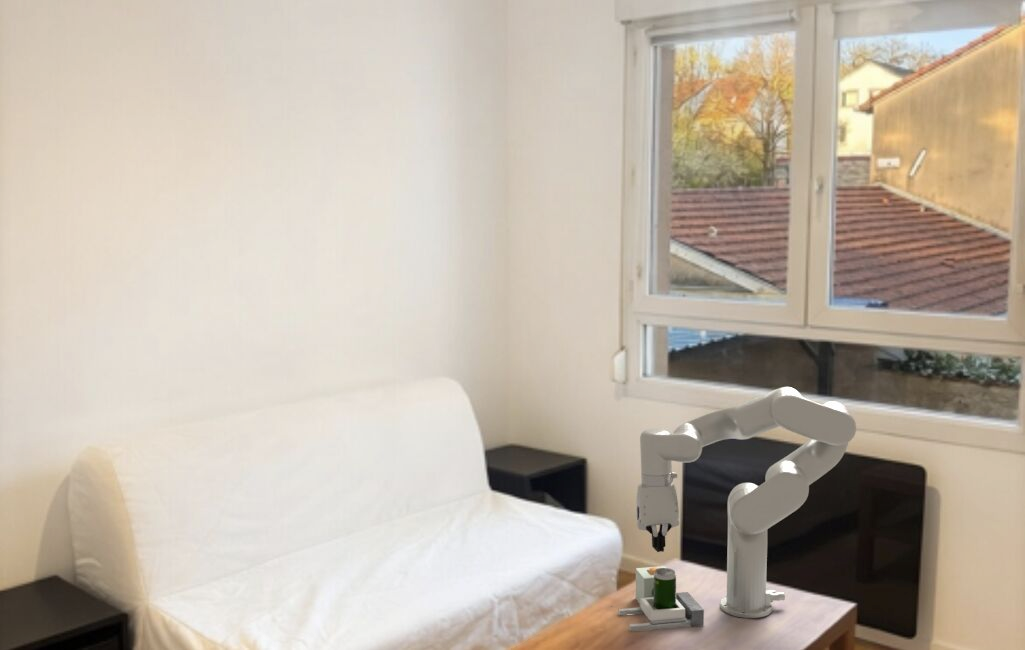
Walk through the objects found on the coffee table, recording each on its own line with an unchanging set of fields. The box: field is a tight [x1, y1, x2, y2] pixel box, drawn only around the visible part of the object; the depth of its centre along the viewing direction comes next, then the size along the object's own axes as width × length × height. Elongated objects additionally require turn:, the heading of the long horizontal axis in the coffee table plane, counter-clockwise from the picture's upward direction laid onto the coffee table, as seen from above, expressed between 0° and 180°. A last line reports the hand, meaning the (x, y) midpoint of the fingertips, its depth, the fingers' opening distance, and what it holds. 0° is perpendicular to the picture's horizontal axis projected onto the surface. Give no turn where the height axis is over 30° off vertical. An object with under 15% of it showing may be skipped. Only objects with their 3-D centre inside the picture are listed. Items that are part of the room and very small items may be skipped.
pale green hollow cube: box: [635, 565, 668, 604], centre depth 246 cm, size 8×8×8 cm
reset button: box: [649, 566, 659, 575], centre depth 246 cm, size 3×3×2 cm
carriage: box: [638, 597, 687, 624], centre depth 237 cm, size 8×11×2 cm
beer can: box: [654, 567, 677, 610], centre depth 236 cm, size 5×5×12 cm
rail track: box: [618, 591, 705, 632], centre depth 237 cm, size 18×11×4 cm, turn 100°
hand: (658, 549), depth 245 cm, fingers closed
